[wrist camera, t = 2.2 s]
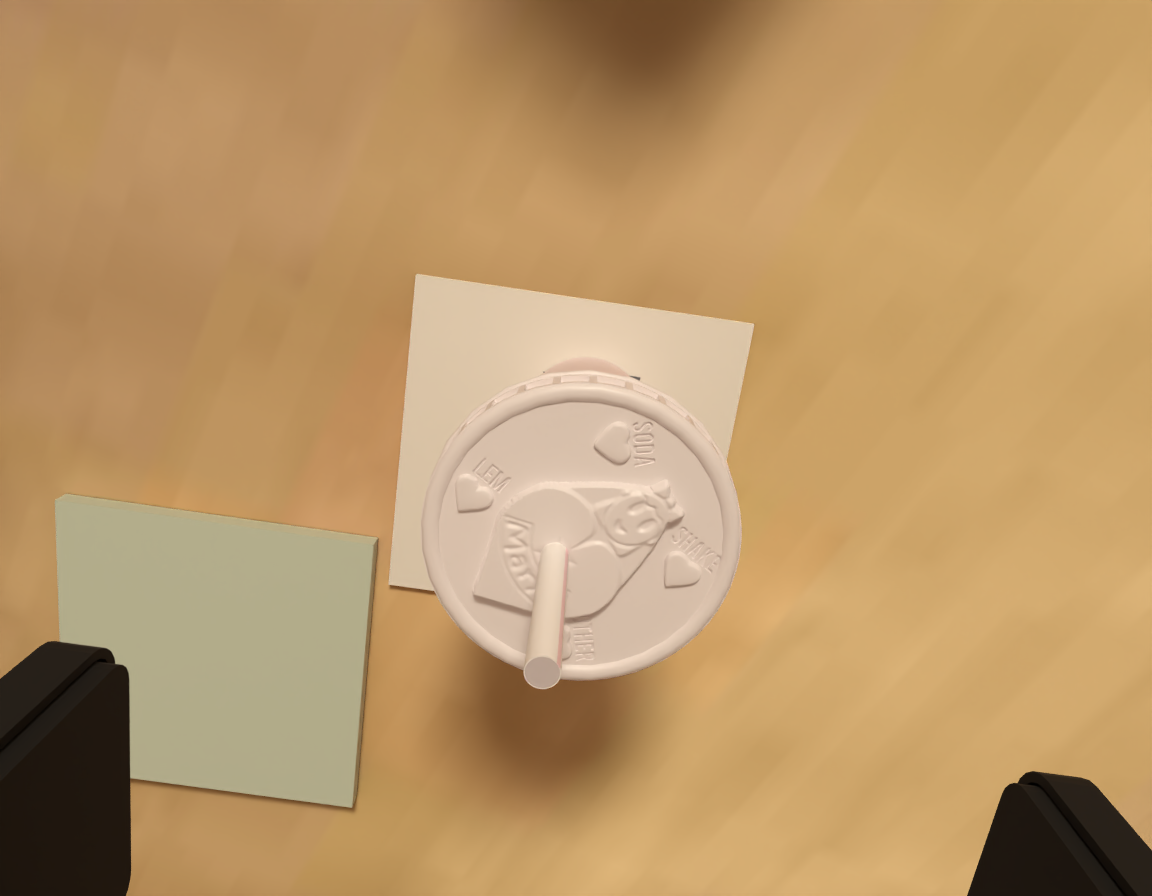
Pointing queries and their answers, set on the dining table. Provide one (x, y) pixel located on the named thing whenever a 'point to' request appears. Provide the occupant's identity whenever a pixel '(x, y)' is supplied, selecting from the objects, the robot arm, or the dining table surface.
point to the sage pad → (226, 642)
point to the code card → (541, 372)
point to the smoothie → (581, 525)
